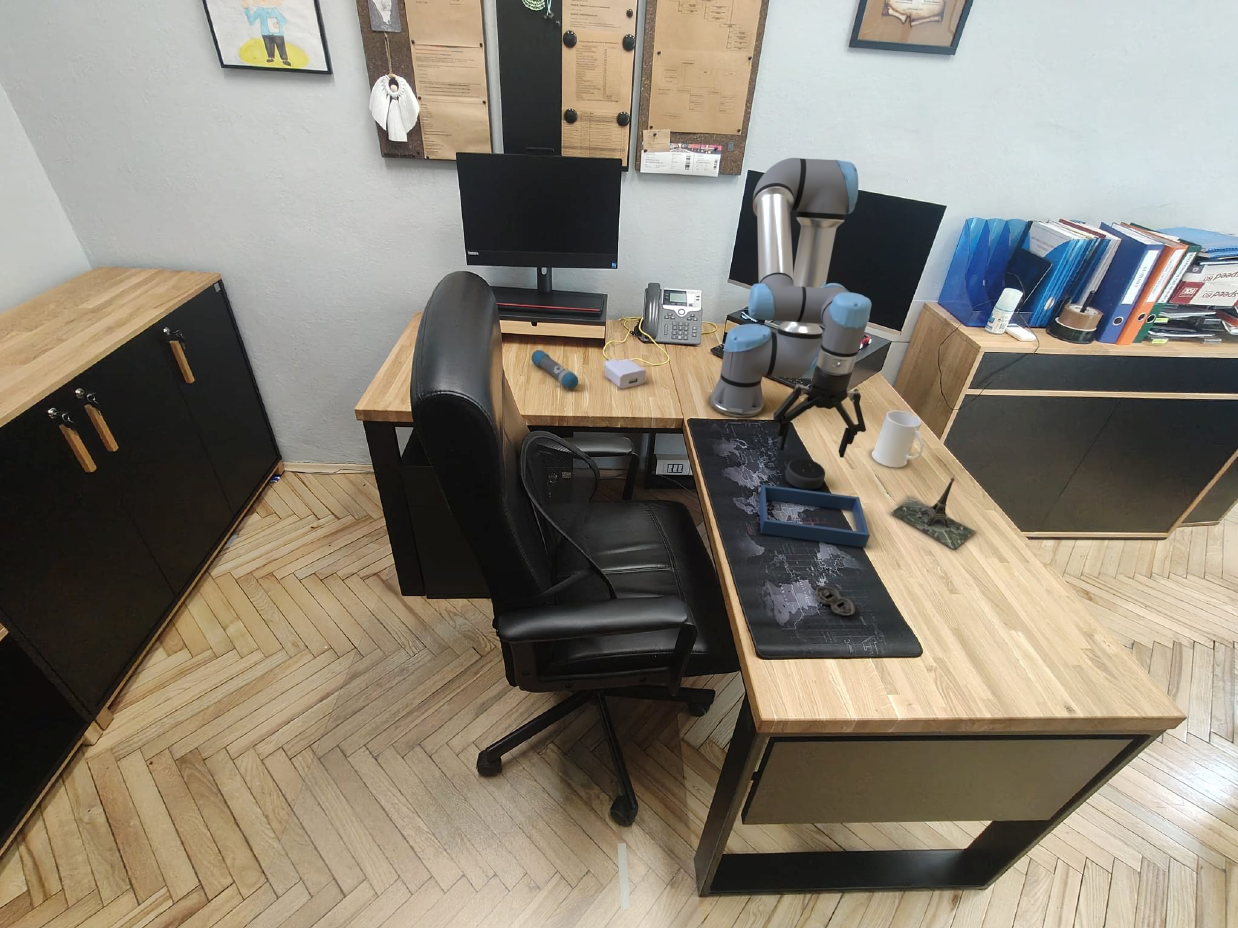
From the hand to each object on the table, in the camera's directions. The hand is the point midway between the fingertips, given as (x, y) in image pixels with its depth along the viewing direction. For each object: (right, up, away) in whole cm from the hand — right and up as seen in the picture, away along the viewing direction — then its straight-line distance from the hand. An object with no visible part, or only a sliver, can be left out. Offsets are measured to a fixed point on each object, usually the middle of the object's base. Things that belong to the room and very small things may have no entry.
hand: (810, 450), depth 138 cm
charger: (-44, +24, +47) cm, 69 cm away
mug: (+26, -3, +13) cm, 29 cm away
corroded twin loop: (-5, -29, -28) cm, 40 cm away
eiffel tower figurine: (+25, -16, -6) cm, 30 cm away
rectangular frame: (-3, -16, -8) cm, 18 cm away
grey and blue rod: (-64, +23, +45) cm, 82 cm away
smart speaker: (0, -7, +5) cm, 9 cm away
